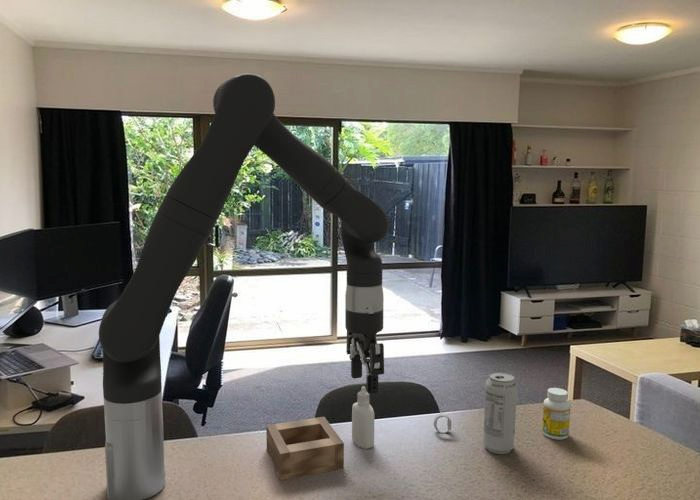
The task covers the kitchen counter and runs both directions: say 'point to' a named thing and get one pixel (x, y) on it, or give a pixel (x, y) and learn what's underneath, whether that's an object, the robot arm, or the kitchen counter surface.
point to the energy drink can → (500, 413)
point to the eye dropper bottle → (363, 421)
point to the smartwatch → (447, 422)
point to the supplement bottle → (556, 414)
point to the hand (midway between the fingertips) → (364, 384)
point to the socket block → (304, 447)
